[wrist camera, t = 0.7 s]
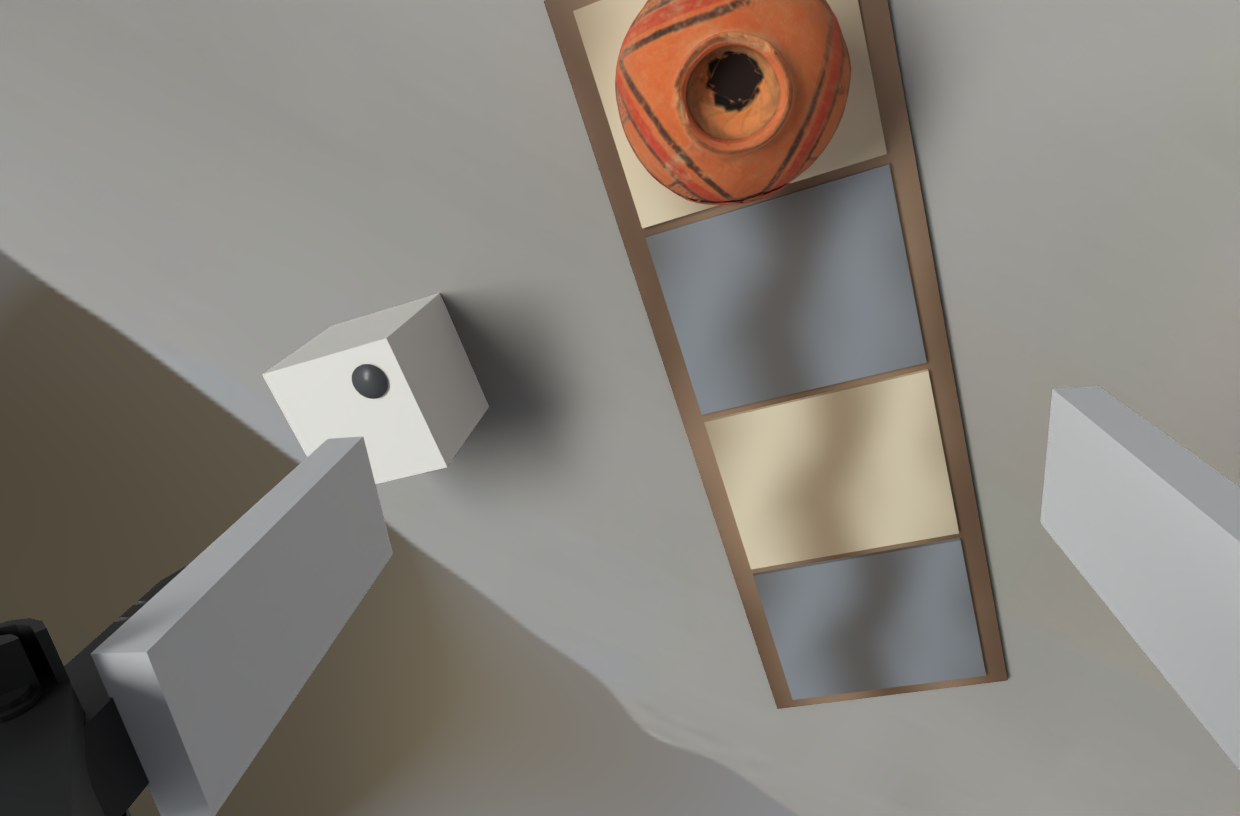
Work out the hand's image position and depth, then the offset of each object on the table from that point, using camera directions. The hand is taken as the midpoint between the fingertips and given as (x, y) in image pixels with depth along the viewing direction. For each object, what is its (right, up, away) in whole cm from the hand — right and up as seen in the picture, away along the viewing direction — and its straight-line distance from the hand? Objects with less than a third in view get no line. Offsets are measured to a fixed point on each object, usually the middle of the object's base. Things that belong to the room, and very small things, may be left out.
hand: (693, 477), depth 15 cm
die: (-12, +3, +23) cm, 26 cm away
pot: (+3, +14, +15) cm, 21 cm away
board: (+7, +2, +20) cm, 21 cm away
